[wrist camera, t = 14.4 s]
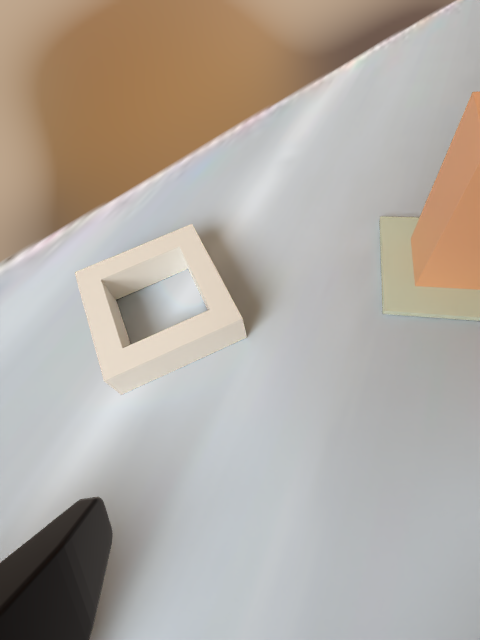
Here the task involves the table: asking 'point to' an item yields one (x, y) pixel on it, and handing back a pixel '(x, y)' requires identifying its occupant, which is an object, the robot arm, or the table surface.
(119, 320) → the cream square frame
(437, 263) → the plug
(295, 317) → the table surface
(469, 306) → the mat
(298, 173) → the table surface
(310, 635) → the table surface
